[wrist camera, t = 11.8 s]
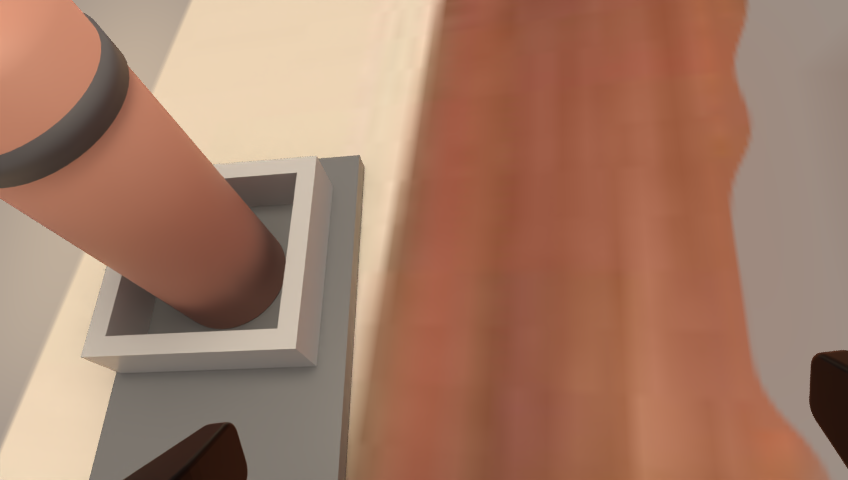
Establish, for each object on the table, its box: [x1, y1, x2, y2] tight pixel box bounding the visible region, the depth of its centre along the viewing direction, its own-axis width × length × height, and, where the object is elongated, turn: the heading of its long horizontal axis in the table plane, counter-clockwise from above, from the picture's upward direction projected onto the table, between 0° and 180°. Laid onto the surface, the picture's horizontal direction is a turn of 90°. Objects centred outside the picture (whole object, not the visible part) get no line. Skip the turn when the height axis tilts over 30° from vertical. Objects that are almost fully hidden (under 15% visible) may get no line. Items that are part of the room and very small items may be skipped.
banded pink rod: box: [0, 0, 286, 329], centre depth 19 cm, size 5×5×14 cm
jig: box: [81, 155, 364, 480], centre depth 23 cm, size 18×10×4 cm, turn 0°
